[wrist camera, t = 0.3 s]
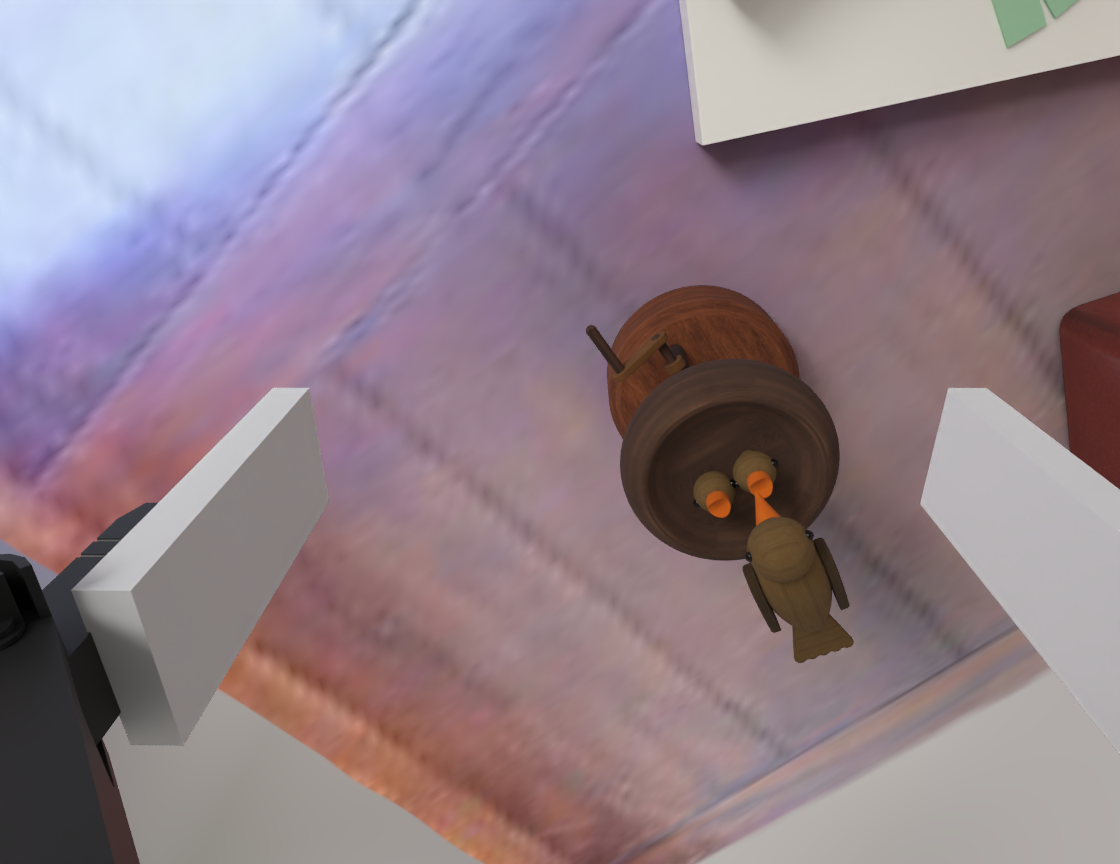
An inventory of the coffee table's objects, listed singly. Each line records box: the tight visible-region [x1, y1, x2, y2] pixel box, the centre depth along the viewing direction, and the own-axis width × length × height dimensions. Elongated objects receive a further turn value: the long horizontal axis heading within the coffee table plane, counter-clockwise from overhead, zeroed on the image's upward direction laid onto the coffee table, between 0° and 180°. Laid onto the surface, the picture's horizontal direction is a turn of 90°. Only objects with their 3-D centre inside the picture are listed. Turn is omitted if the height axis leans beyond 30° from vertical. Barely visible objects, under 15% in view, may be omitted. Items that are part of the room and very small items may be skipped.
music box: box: [586, 286, 854, 663], centre depth 34 cm, size 15×11×20 cm
